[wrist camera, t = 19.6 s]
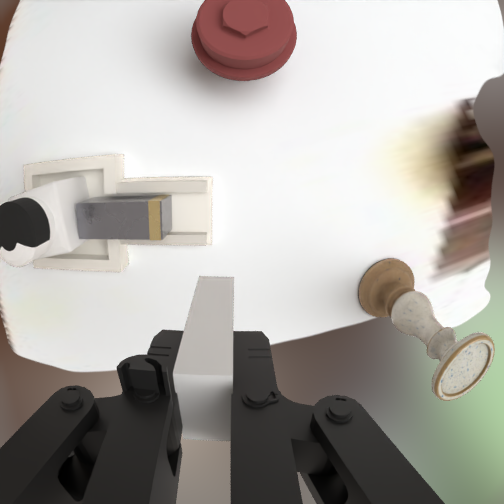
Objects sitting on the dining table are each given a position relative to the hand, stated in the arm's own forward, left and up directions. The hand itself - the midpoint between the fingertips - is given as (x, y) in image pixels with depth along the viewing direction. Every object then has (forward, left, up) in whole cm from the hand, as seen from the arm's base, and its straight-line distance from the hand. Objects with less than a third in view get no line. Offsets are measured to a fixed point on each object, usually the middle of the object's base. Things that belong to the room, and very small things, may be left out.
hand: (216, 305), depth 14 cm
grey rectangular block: (0, -12, -23) cm, 26 cm away
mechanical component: (-19, +1, -25) cm, 31 cm away
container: (0, -21, -24) cm, 32 cm away
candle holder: (+10, +22, -25) cm, 34 cm away
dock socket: (0, -14, -24) cm, 28 cm away
